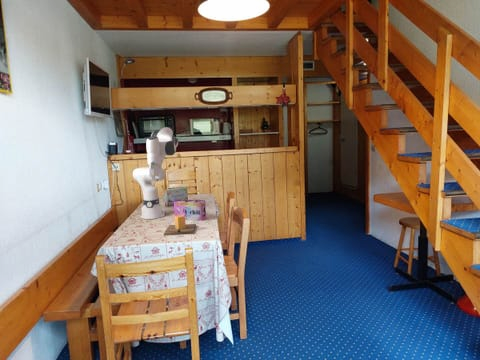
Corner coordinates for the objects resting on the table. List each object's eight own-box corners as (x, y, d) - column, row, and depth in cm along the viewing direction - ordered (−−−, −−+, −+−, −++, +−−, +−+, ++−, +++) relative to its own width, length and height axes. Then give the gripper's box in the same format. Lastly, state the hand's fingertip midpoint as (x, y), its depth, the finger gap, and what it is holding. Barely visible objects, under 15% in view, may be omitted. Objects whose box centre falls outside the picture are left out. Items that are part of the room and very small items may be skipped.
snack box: (168, 207, 284) (166, 190, 282) (165, 206, 288) (163, 189, 286) (188, 203, 298) (187, 187, 296) (185, 202, 302) (184, 186, 300)
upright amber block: (175, 228, 208) (174, 216, 207) (182, 226, 211) (181, 214, 210) (178, 229, 204) (177, 217, 203) (185, 228, 207) (184, 216, 206)
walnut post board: (169, 227, 217) (168, 217, 216) (195, 225, 217) (195, 215, 216) (164, 235, 199) (163, 224, 198) (193, 233, 199) (192, 222, 198)
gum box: (208, 218, 237) (207, 200, 236) (203, 221, 230) (202, 202, 228) (179, 216, 246) (178, 199, 244) (174, 219, 238) (173, 201, 237)
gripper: (155, 162, 203) (157, 183, 205) (162, 160, 224) (163, 179, 225) (145, 162, 203) (147, 184, 205) (153, 160, 224) (154, 180, 225)
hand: (156, 181), depth 215 cm, fingers open, 8 cm apart
